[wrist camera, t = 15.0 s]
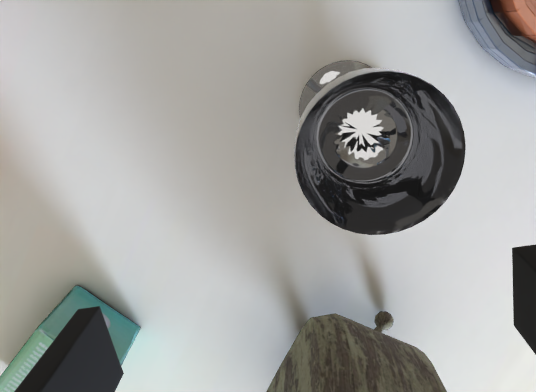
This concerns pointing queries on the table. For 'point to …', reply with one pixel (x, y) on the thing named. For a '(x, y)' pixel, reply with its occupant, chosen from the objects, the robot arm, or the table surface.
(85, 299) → the box
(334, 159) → the wine glass
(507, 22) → the small bowl
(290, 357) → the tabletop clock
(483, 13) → the serving bowl
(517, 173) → the table surface
